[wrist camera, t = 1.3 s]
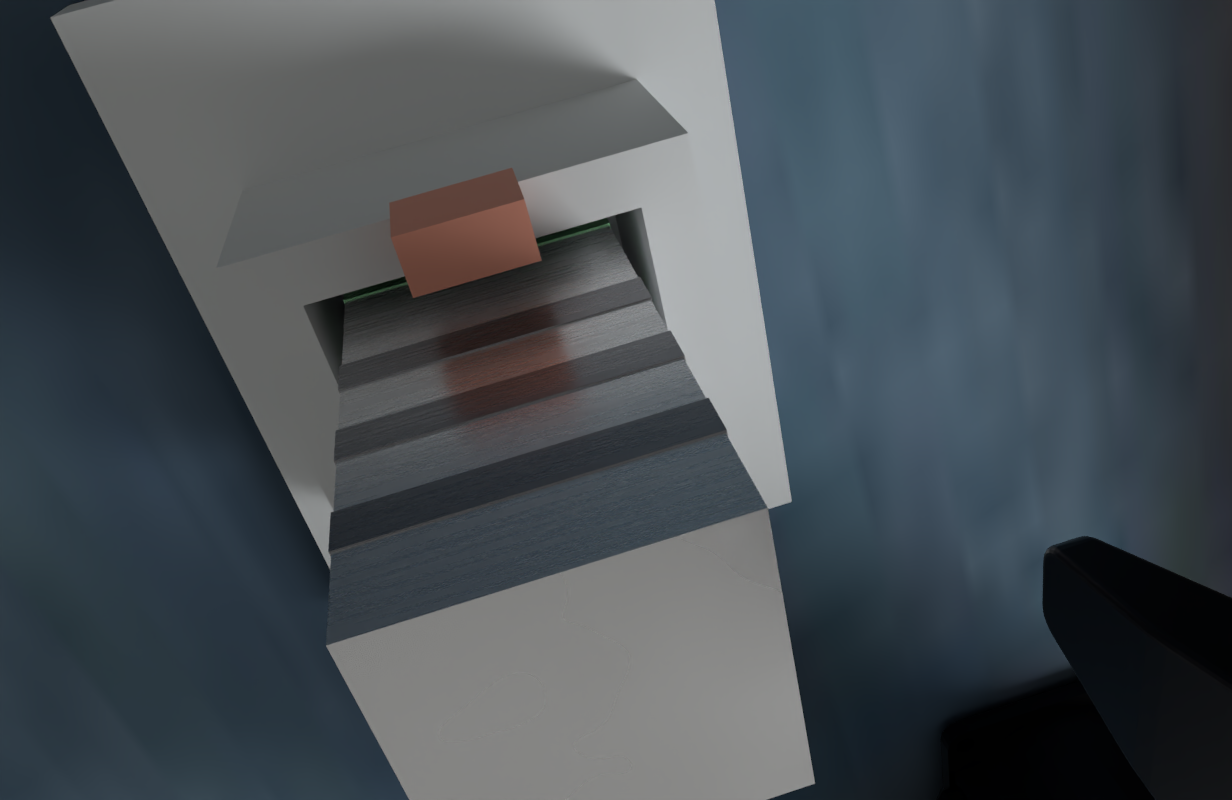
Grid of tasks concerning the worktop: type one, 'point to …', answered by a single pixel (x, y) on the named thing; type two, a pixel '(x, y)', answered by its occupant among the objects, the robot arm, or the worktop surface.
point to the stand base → (427, 178)
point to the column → (552, 547)
